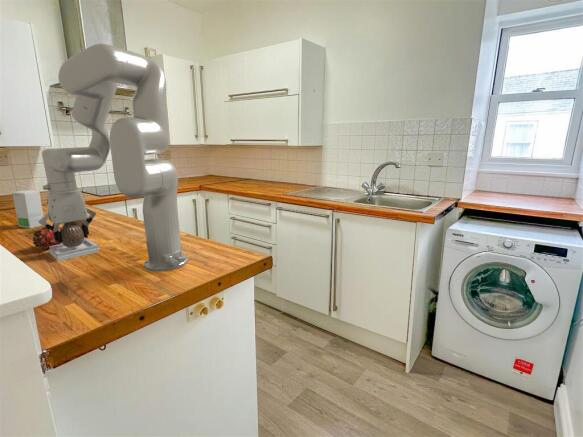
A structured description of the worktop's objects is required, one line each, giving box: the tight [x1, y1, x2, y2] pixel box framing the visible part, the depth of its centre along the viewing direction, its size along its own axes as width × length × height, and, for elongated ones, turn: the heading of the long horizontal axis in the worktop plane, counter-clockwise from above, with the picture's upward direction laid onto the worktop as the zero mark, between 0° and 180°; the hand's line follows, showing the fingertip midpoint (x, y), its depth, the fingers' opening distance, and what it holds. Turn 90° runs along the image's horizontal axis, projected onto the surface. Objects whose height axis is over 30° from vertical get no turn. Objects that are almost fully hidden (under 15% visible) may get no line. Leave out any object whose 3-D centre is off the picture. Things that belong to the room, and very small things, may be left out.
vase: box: [60, 222, 85, 248], centre depth 108 cm, size 7×7×9 cm
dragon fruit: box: [32, 226, 62, 251], centre depth 114 cm, size 8×8×12 cm
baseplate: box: [48, 238, 101, 262], centre depth 109 cm, size 12×12×2 cm
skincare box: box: [12, 189, 44, 229], centre depth 142 cm, size 8×7×16 cm
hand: (72, 239), depth 108 cm, fingers closed on vase, 7 cm apart
